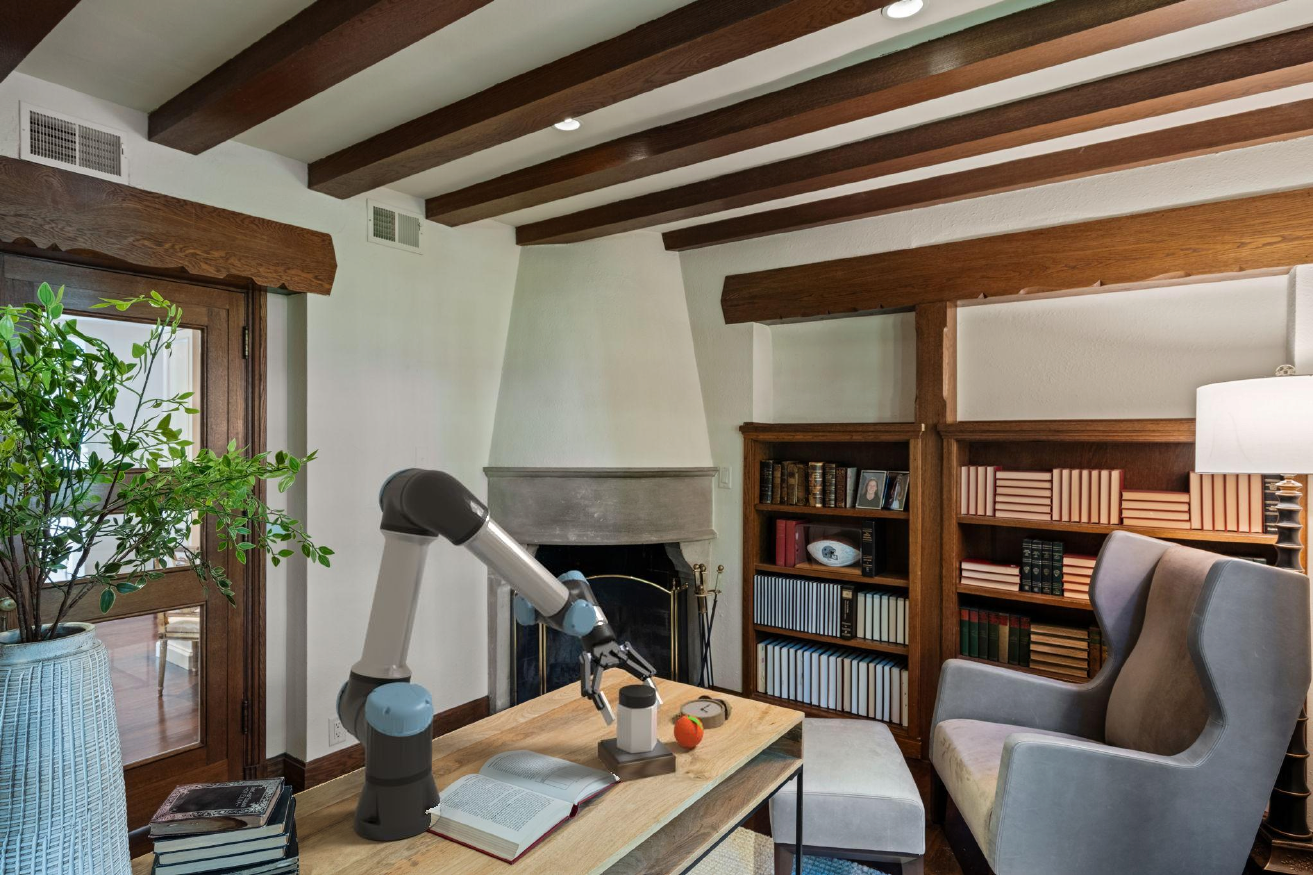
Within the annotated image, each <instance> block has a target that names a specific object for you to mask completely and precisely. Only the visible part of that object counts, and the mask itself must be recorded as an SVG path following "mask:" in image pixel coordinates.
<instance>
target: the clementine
mask: <svg viewBox="0 0 1313 875" xmlns="http://www.w3.org/2000/svg"><path fill="white" fill-rule="evenodd" d="M704 730H705V729H703V726H702V723H701V722H700V720H699V719H697V718H696V717H694V716H691V715H686V716H683V717H681V718H680V719H677V721H676V722H675V724H674V727H673V736H674V738H675V740H676V742H677V744H679V745H680V746H681V747H684V748H688V749H689V748H690V749H691V748H694V747H697V746H698V745H699V744H700V743H701V742H702V740H703V738H704Z"/></svg>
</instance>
